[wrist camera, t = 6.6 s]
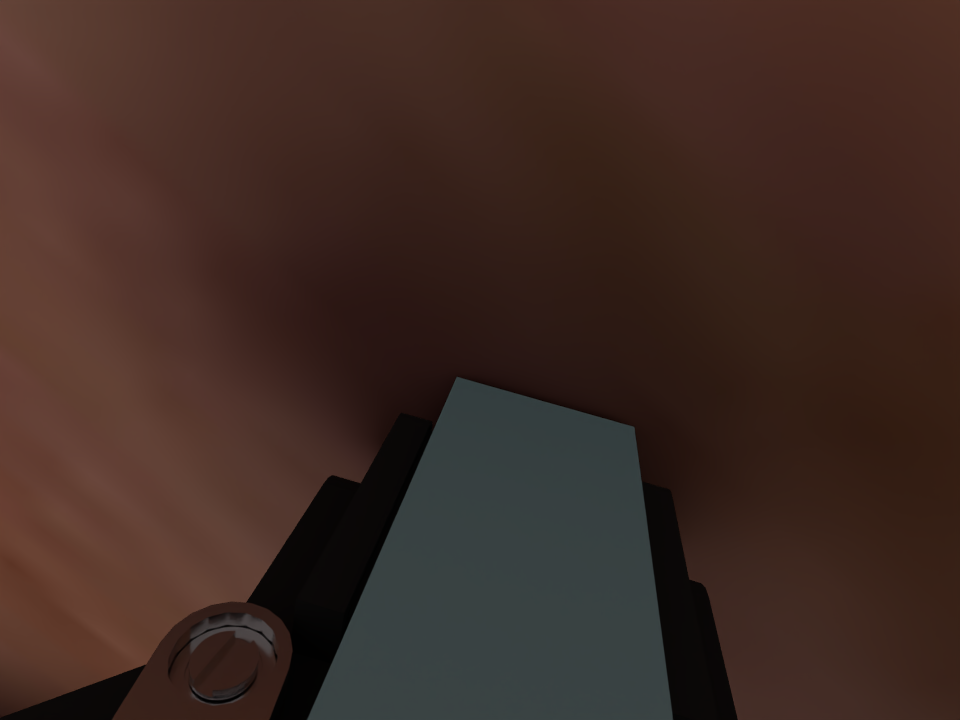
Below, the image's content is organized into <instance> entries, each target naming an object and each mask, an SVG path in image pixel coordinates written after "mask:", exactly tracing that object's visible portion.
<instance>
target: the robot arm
mask: <svg viewBox="0 0 960 720" xmlns="http://www.w3.org/2000/svg"><path fill="white" fill-rule="evenodd" d="M432 432H433V431H432V421H429V420H425V419H422V418H418V417H415V416H411V415H408V414H404V413H400V415H399V416H398V418H397V420H396V422H395V423H394V425H393V427H392V429H391V430H390V432H389V434H388V436H387V438H386V439H385V441H384V443H383V445H382V447H381V448H380V450H379V452H378V454H377V456H376V457H375V459H374V461H373V463H372V464H371V466H370V468H369V470H368V472H367V473H366V475H365V477H364V479H363V481H362V482H361V483H357V482H354V481H351V480H347V479H344V478H340V477H337V476H334V475H332V476H330V477H329V478H328V479H327V480H326V481H325V483H324V484H323V486H322V487H321V489H320V490H319V492H318V493H317V495H316V496H315V498H314V499H313V501H312V502H311V504H310V506H309V507H308V509H307V510H306V512H305V513H304V515H303V516H302V518H301V519H300V521H299V522H298V524H297V526H296V527H295V529H294V530H293V532H292V533H291V535H290V536H289V538H288V539H287V541H286V542H285V544H284V545H283V547H282V549H281V550H280V552H279V553H278V555H277V556H276V558H275V559H274V561H273V562H272V564H271V565H270V567H269V569H268V570H267V572H266V573H265V575H264V576H263V578H262V579H261V581H260V582H259V584H258V585H257V587H256V589H255V590H254V592H253V593H252V595H251V596H250V598H249V599H248V601H247V602H246V603H243V602H227V603H221V604H215V605H210V606H208V607H206V608H203V609H201V610H198V611H196V612H193V613H191V614H190V615H189V616H187V617H186V618H184V619H183V620H182V621H180V622H179V623H177V624H176V625H175V626H174V627H173V628H172V629H171V630H170V631H169V632H168V634H167V635H166V636H165V637H164V638H163V640H162V641H161V642H160V644H159V645H158V647H157V648H156V650H155V651H154V653H153V655H152V656H151V658H150V659H149V661H148V663H147V664H146V665H144V666H141V667H138V668H135V669H133V670H130V671H127V672H124V673H122V674H119V675H116V676H113V677H111V678H108V679H105V680H103V681H100V682H97V683H94V684H92V685H89V686H86V687H83V688H81V689H78V690H75V691H72V692H70V693H67V694H64V695H62V696H59V697H56V698H53V699H51V700H48V701H45V702H42V703H40V704H37V705H34V706H31V707H29V708H26V709H23V710H20V711H18V712H15V713H12V714H10V715H7V716H4V717H1V718H0V720H307V719H308V717H309V715H310V712H311V710H312V708H313V705H314V703H315V701H316V699H317V696H318V694H319V692H320V689H321V687H322V685H323V683H324V680H325V678H326V676H327V673H328V671H329V669H330V666H331V664H332V662H333V660H334V657H335V655H336V653H337V650H338V648H339V646H340V644H341V641H342V639H343V637H344V634H345V632H346V630H347V627H348V625H349V623H350V621H351V618H352V616H353V614H354V611H355V609H356V607H357V605H358V602H359V600H360V598H361V595H362V593H363V591H364V588H365V586H366V584H367V582H368V579H369V577H370V575H371V572H372V570H373V568H374V566H375V563H376V561H377V559H378V556H379V554H380V552H381V549H382V547H383V545H384V543H385V540H386V538H387V536H388V533H389V531H390V529H391V527H392V524H393V522H394V520H395V517H396V515H397V513H398V510H399V508H400V506H401V504H402V501H403V499H404V497H405V494H406V492H407V490H408V488H409V485H410V483H411V481H412V478H413V476H414V474H415V471H416V469H417V467H418V465H419V462H420V460H421V458H422V455H423V453H424V451H425V449H426V446H427V444H428V442H429V439H430V437H431V435H432ZM642 489H643V496H644V504H645V511H646V519H647V526H648V534H649V541H650V549H651V557H652V564H653V572H654V579H655V587H656V594H657V602H658V610H659V617H660V625H661V632H662V640H663V647H664V655H665V663H666V670H667V678H668V685H669V693H670V700H671V708H672V716H673V720H738V719H737V715H736V711H735V707H734V702H733V698H732V694H731V690H730V685H729V681H728V677H727V673H726V668H725V664H724V660H723V656H722V651H721V647H720V643H719V639H718V634H717V630H716V626H715V622H714V617H713V613H712V609H711V605H710V600H709V596H708V594H707V591H706V588H705V587H704V586H703V585H702V584H701V583H699V582H695V581H692V580H689V577H688V572H687V567H686V562H685V557H684V552H683V547H682V543H681V538H680V533H679V528H678V523H677V518H676V513H675V508H674V503H673V498H672V494H671V491H670V490H669V489H666V488H663V487H659V486H656V485H652V484H649V483H645V482H642Z"/></svg>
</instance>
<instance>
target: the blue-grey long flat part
mask: <svg viewBox="0 0 960 720" xmlns="http://www.w3.org/2000/svg"><path fill="white" fill-rule="evenodd" d="M307 720H673V716H672V708H671V700H670V693H669V685H668V678H667V670H666V663H665V655H664V647H663V640H662V632H661V625H660V617H659V610H658V602H657V594H656V587H655V579H654V572H653V564H652V557H651V549H650V541H649V534H648V526H647V519H646V511H645V504H644V496H643V489H642V481H641V473H640V466H639V458H638V451H637V443H636V436H635V428H634V427H633V426H629V425H626V424H622V423H618V422H615V421H611V420H608V419H604V418H601V417H597V416H594V415H590V414H587V413H583V412H580V411H576V410H572V409H569V408H565V407H562V406H558V405H555V404H551V403H548V402H544V401H541V400H537V399H534V398H530V397H526V396H523V395H519V394H516V393H512V392H509V391H505V390H502V389H498V388H495V387H491V386H487V385H484V384H480V383H477V382H473V381H470V380H466V379H463V378H459V377H456V380H455V382H454V384H453V387H452V389H451V391H450V393H449V396H448V398H447V400H446V403H445V405H444V407H443V410H442V412H441V414H440V416H439V419H438V421H437V423H436V426H435V428H434V430H433V432H432V435H431V437H430V439H429V442H428V444H427V446H426V449H425V451H424V453H423V455H422V458H421V460H420V462H419V465H418V467H417V469H416V471H415V474H414V476H413V478H412V481H411V483H410V485H409V488H408V490H407V492H406V494H405V497H404V499H403V501H402V504H401V506H400V508H399V510H398V513H397V515H396V517H395V520H394V522H393V524H392V527H391V529H390V531H389V533H388V536H387V538H386V540H385V543H384V545H383V547H382V549H381V552H380V554H379V556H378V559H377V561H376V563H375V566H374V568H373V570H372V572H371V575H370V577H369V579H368V582H367V584H366V586H365V588H364V591H363V593H362V595H361V598H360V600H359V602H358V605H357V607H356V609H355V611H354V614H353V616H352V618H351V621H350V623H349V625H348V627H347V630H346V632H345V634H344V637H343V639H342V641H341V644H340V646H339V648H338V650H337V653H336V655H335V657H334V660H333V662H332V664H331V666H330V669H329V671H328V673H327V676H326V678H325V680H324V683H323V685H322V687H321V689H320V692H319V694H318V696H317V699H316V701H315V703H314V705H313V708H312V710H311V712H310V715H309V717H308V719H307Z"/></svg>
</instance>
